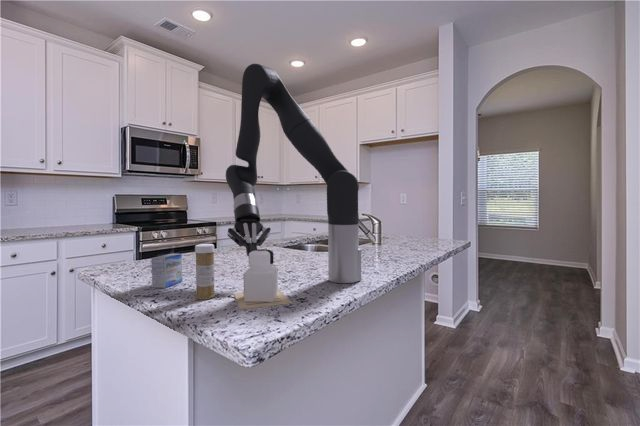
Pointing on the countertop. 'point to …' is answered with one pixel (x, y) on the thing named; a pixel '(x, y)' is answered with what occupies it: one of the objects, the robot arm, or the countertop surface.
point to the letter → (279, 300)
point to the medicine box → (166, 270)
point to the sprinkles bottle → (204, 271)
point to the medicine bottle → (261, 277)
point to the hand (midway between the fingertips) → (252, 256)
